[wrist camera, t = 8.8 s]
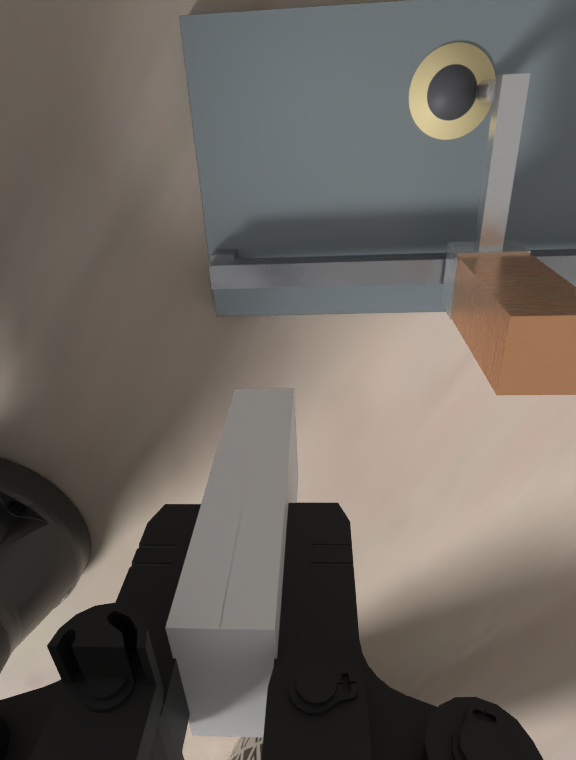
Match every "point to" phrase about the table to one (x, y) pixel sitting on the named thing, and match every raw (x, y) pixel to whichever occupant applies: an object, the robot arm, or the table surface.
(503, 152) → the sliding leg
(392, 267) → the rail
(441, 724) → the robot arm
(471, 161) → the gauge board
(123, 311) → the table surface
